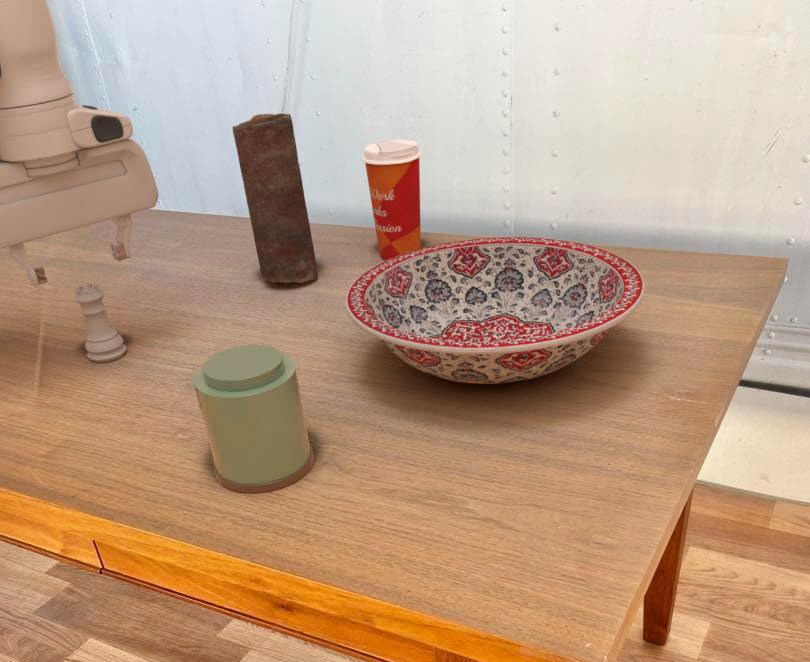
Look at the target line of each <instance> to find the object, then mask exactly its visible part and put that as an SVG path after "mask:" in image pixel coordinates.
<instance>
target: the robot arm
mask: <svg viewBox="0 0 810 662" xmlns="http://www.w3.org/2000/svg"><path fill="white" fill-rule="evenodd" d="M75 96H76V95H75V93H74V90H73V87H72V85H71V83H70V81H69V80H68V78H67V76H66V74H65V72H64V69H63V67H62V63H61V58H60V43H59V39H58V34H57V31H56V28H55V25H54V21H53V18H52V15H51V12H50V9H49V6H48V3H47V1H46V0H0V250H2V249H5V251H6V253H7V254H8V255H9V257H11V258H12V259H13V260H14V261H15V262H16V263H18V264H19V265H20V266H21V267H22V268H23V269H24V271H25V275H26V276H27V280H28V281H29V283H30V285H32V286H33V287H36V286H39V285H43V284H46V283H48V282H49V281H48V277H47V276H46V271H45V269H44V266H43V265H42V264H40V263H38V262H36V263H32V264H31V263H30V261H28V260H27V259H26V258H24V256H23V255H25V254H27V251H26V248H25V245H24V244H25V243H28V242H31V241H36V240H40V239H43V238H46V237H50V236H54V235H58V234H62V233H65V232H69V231H73V230H76V229H79V228H80V229H81V228H83V227H87V226H91V225H95V224H98V223H102V222H106V221H109V220H112V223H113V224H114V225H117V229H116V235H115V240H112V241H110V242H108V245H109V248H110V250H111V255H112V257H113V259H114V260H115V261H117V262H121V261H124V260H127V259H131V258H132V254H131V251H130V247H129V241H130V237H131V233H132V229H133V225H134V224H133V223H134V222H133V220H132V217H131V216H132V215H131V214H135V213H138V212H142V211H146V210H150V209H153V208H155V207H156V205H157V202H158V199H159V197H160V196H159V189H158V186H157V182H156V179H155V176H154V172H153V170H152V167H151V165H150V162H149V159H148V157H147V154H146V153H145V151H144V149H143V147H142V146H141V145H140V144H139V143H138V142H137V141H135V140H134V139H131V137H132V136H133V135H134V129H133V124H132V120H131V119H130V117H129V116H127V115H125V114H123V113H121V112H117V111H114V110H110V109H104V108H98V107H95V106H92V105H85V104H83V105H79V104H78V103H77V100H76V97H75Z"/></svg>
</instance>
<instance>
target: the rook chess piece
mask: <svg viewBox="0 0 810 662" xmlns="http://www.w3.org/2000/svg"><path fill="white" fill-rule="evenodd" d="M86 286H87V287H86V288H85V286H84V284H81V285H79V286H78V287H75V288H74V292H75V295H74V297H73V299H74V301H75V302H76V303H77V304H79V305H80V308H81V309H80V314H81V315H82V316H83V318H84V321H85V326H86V327H85V328H86V337H85V339H86V342H85V343H84V348H85V350H86V351H87V354H86V356H87V358H88V359H89V360H91V361H92V362H95V363H108V362H109V363H110V362H112V361H116V360H117V359H120V358H121V357H123V356H124V355H125V353H126V350H127V346H126V344H123V343H124V339H123V337H122V335H121V334H119V333H118V331H117V330H116V329H115V328H114V327H113V325H112V323H111V322H110V321H111V320H110V319H109V317H108V315H107V310H106V308H107V306H106V304H104V302H103V298H104V297H105V292H104V291H103V290H102V289H101V288H100V287H99V285H98V283H93V284H92V283H91V282H90V283H86Z"/></svg>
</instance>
